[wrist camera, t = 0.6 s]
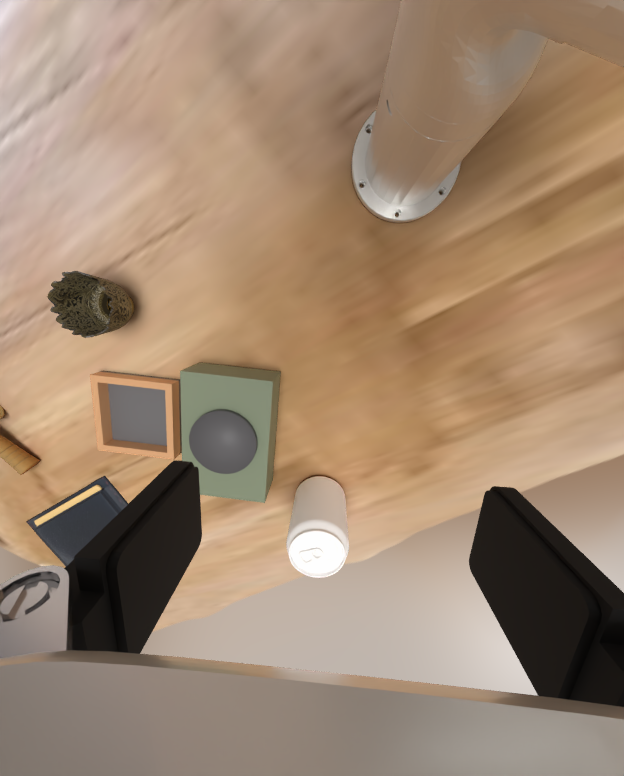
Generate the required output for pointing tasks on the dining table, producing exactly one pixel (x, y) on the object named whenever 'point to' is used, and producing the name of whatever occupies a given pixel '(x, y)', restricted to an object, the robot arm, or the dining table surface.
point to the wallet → (78, 518)
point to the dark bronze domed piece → (90, 304)
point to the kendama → (15, 454)
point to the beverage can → (318, 528)
